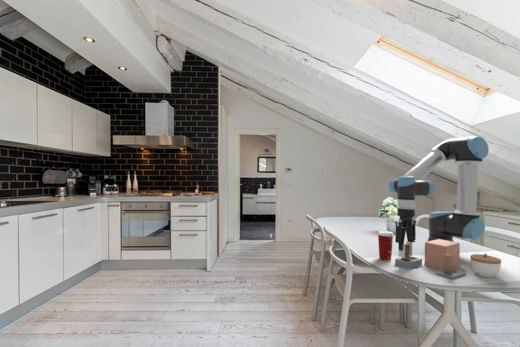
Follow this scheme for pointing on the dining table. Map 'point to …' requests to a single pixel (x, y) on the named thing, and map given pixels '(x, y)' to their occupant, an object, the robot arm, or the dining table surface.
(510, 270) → the dining table surface
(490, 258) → the lidded jar
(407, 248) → the pin
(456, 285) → the dining table surface
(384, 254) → the paper cup
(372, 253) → the dining table surface
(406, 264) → the grey hollow block
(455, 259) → the block
